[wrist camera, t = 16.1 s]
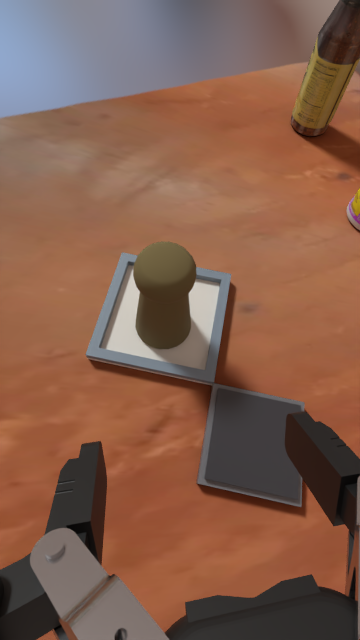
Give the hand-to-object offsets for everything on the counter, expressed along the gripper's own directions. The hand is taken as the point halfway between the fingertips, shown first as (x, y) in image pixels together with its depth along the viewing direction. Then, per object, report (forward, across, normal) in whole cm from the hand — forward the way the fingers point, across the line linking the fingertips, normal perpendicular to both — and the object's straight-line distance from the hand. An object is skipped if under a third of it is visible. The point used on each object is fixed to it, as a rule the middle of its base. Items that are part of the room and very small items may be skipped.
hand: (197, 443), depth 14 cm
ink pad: (+12, -8, +12) cm, 19 cm away
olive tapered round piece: (+22, -1, +2) cm, 22 cm away
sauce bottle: (+45, -28, -20) cm, 57 cm away
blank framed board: (+23, -1, +2) cm, 23 cm away
